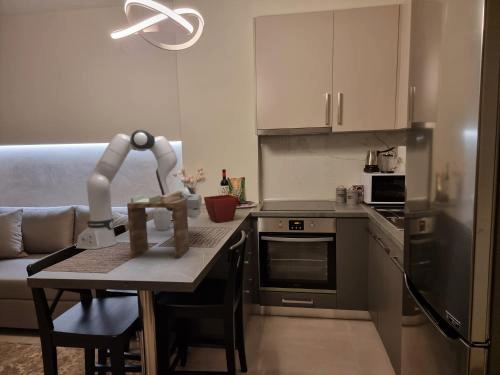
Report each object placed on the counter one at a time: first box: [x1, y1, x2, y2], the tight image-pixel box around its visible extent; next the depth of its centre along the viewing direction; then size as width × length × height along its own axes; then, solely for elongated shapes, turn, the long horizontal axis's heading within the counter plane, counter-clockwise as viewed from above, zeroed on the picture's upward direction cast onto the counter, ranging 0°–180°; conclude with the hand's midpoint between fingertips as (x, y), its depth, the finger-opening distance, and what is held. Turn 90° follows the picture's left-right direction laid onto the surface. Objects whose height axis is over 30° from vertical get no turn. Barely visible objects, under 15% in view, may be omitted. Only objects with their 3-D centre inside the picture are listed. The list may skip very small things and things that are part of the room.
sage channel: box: [130, 194, 162, 203], centre depth 168 cm, size 10×11×2 cm
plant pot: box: [203, 194, 239, 224], centre depth 245 cm, size 19×19×17 cm
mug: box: [152, 208, 173, 232], centre depth 224 cm, size 15×11×13 cm
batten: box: [160, 190, 183, 203], centre depth 170 cm, size 3×22×3 cm, turn 171°
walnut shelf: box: [126, 199, 190, 260], centre depth 168 cm, size 24×14×26 cm, turn 81°
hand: (177, 194), depth 176 cm, fingers closed on batten, 3 cm apart
